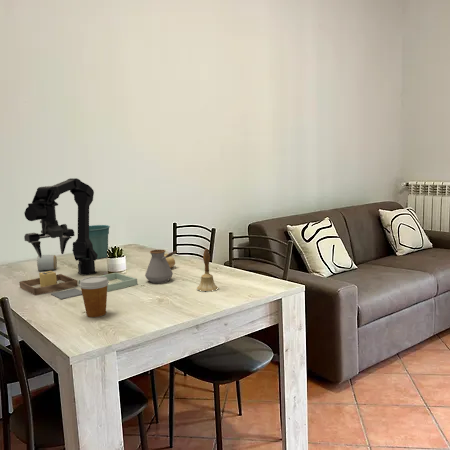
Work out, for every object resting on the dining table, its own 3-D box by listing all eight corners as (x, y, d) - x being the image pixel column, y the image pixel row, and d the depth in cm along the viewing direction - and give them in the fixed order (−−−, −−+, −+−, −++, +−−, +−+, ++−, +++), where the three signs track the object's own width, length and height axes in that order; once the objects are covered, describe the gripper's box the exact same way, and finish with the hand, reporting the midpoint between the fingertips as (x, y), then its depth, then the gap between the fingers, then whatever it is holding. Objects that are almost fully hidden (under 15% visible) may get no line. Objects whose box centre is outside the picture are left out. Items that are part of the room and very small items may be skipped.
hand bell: (221, 286, 193) (219, 247, 191) (213, 292, 185) (212, 251, 183) (201, 285, 196) (199, 246, 194) (193, 291, 188) (191, 250, 186)
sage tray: (117, 278, 213) (116, 272, 213) (137, 284, 201) (137, 278, 200) (79, 286, 202) (78, 280, 201) (97, 293, 189) (97, 287, 189)
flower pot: (94, 261, 249) (92, 230, 246) (73, 258, 258) (71, 228, 255) (118, 255, 262) (116, 225, 260) (97, 253, 271) (95, 224, 269)
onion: (176, 266, 232) (176, 251, 231) (173, 270, 224) (172, 255, 223) (160, 266, 233) (159, 251, 232) (156, 270, 225) (155, 255, 224)
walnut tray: (61, 279, 214) (60, 273, 214) (77, 286, 202) (77, 280, 201) (19, 287, 202) (19, 281, 202) (34, 295, 190) (34, 289, 190)
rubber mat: (75, 289, 197) (75, 288, 197) (86, 293, 190) (86, 292, 189) (50, 294, 190) (50, 293, 190) (61, 299, 183) (61, 298, 183)
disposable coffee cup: (84, 310, 169) (82, 276, 167) (112, 309, 169) (110, 275, 168) (78, 319, 159) (76, 283, 158) (108, 318, 160) (106, 282, 158)
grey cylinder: (55, 271, 231) (54, 255, 230) (37, 272, 229) (36, 256, 228) (58, 266, 241) (57, 251, 240) (41, 268, 239) (39, 252, 238)
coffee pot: (140, 280, 207) (138, 246, 205) (164, 276, 213) (162, 242, 211) (166, 291, 190) (164, 253, 188) (191, 285, 197) (189, 248, 194)
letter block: (52, 284, 205) (51, 270, 205) (57, 287, 202) (55, 272, 201) (40, 287, 202) (39, 272, 201) (45, 289, 198) (43, 274, 198)
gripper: (33, 222, 186) (36, 262, 188) (79, 216, 198) (82, 254, 200) (22, 219, 194) (25, 258, 196) (67, 215, 206) (69, 251, 208)
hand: (51, 255), depth 200 cm, fingers open, 9 cm apart
